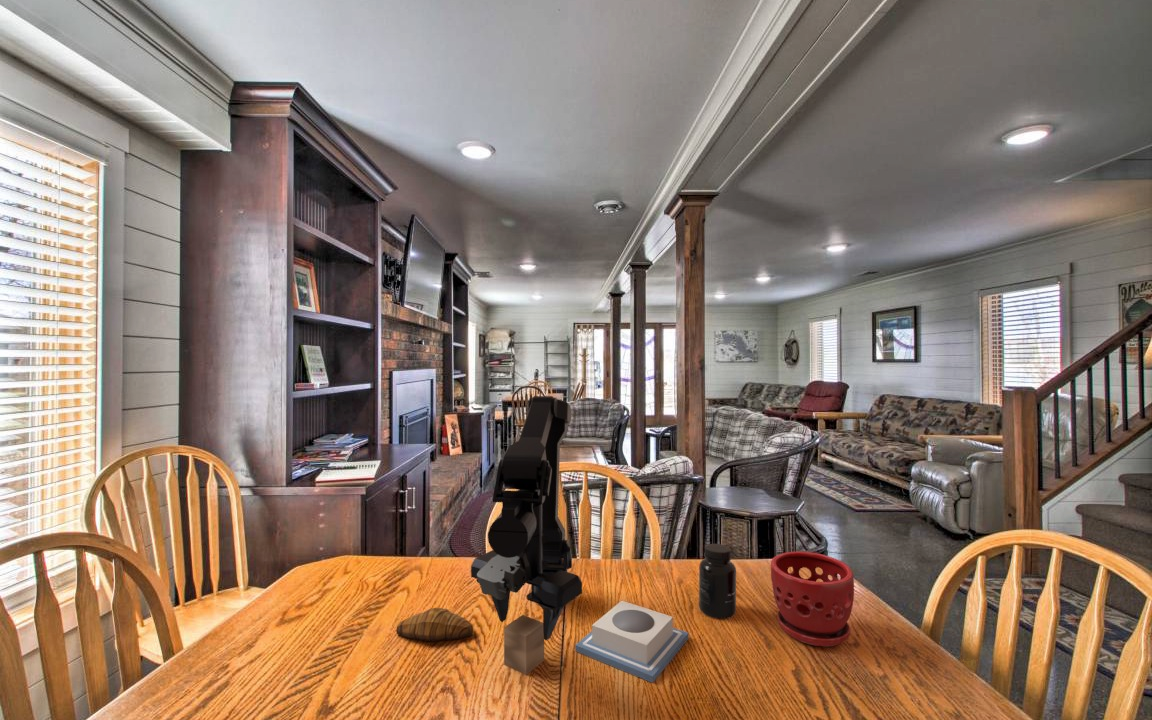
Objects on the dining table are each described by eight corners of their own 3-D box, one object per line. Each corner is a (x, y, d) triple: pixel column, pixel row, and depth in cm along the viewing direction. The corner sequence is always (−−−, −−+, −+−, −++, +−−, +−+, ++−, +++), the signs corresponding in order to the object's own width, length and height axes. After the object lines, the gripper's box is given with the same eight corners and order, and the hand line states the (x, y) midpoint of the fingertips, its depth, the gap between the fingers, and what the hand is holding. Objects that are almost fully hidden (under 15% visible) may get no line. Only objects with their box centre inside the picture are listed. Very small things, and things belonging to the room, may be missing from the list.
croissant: (388, 646, 83) (388, 617, 83) (404, 625, 90) (404, 597, 90) (467, 649, 82) (467, 619, 82) (477, 626, 89) (477, 599, 89)
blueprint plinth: (575, 651, 81) (575, 626, 81) (617, 614, 93) (617, 592, 93) (652, 683, 73) (652, 655, 73) (688, 638, 85) (688, 614, 85)
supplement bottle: (738, 622, 90) (738, 556, 90) (699, 618, 91) (699, 553, 91) (734, 603, 97) (734, 542, 97) (698, 600, 98) (698, 540, 98)
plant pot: (780, 606, 96) (780, 544, 96) (857, 627, 88) (858, 560, 88) (762, 637, 85) (762, 568, 85) (848, 665, 77) (848, 589, 77)
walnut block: (504, 665, 78) (504, 627, 78) (522, 650, 81) (522, 614, 81) (525, 675, 75) (525, 636, 75) (544, 660, 79) (544, 623, 79)
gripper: (444, 535, 77) (445, 634, 77) (538, 563, 66) (538, 678, 66) (494, 515, 86) (495, 604, 86) (583, 538, 75) (584, 639, 76)
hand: (524, 629), depth 78 cm, fingers open, 9 cm apart
